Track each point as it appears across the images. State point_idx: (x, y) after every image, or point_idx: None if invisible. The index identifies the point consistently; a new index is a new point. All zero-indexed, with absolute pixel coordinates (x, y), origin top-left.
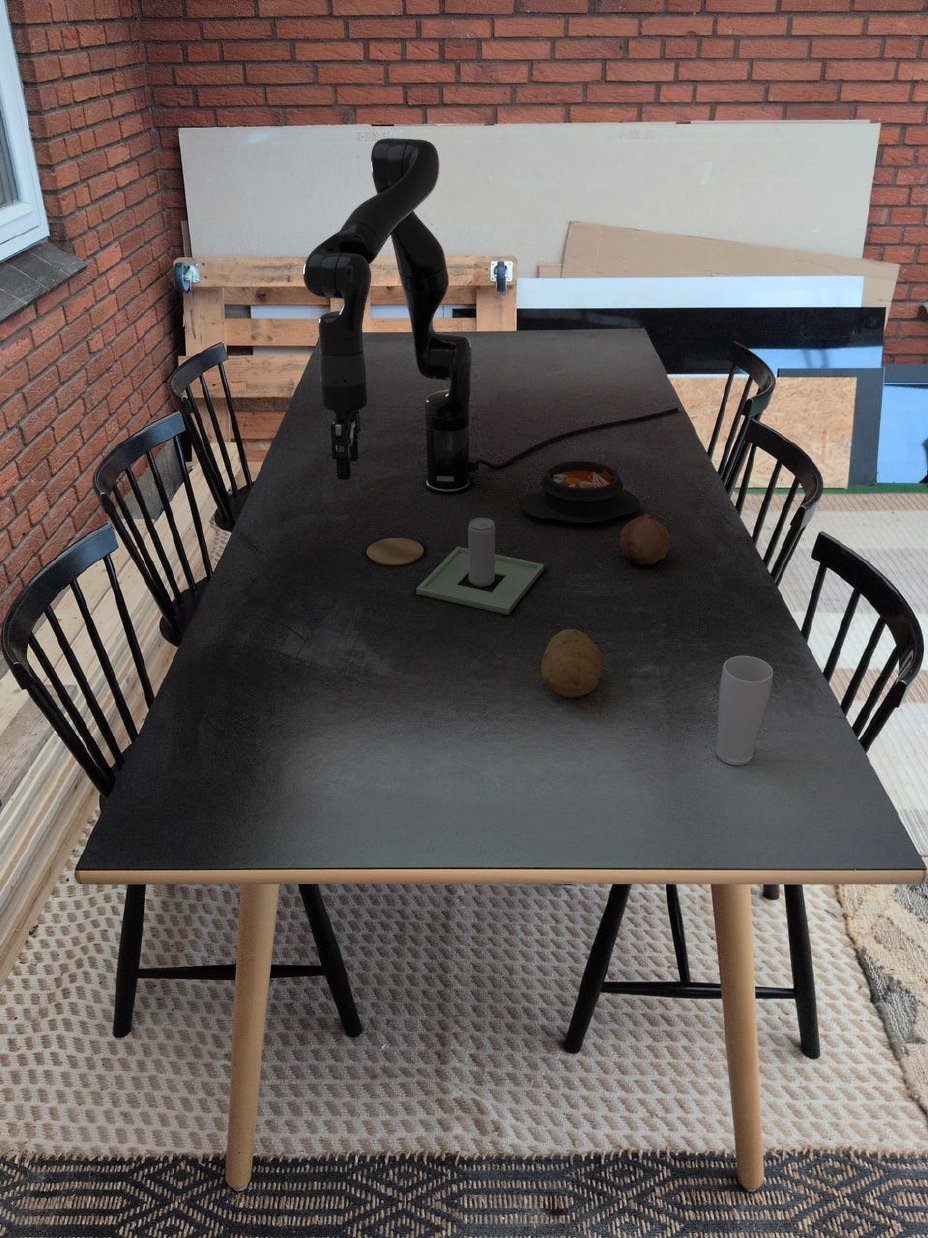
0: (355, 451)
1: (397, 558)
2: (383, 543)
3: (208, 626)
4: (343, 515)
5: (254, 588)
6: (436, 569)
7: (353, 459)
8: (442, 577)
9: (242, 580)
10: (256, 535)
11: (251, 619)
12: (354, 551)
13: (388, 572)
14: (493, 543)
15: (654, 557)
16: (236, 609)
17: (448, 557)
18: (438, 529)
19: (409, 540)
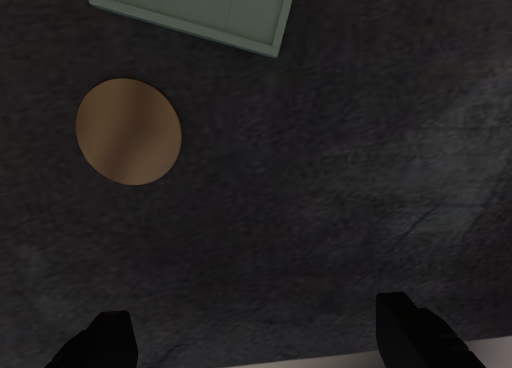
0: (97, 360)
1: (158, 122)
2: (108, 161)
3: None
4: (21, 256)
5: (293, 315)
6: (197, 30)
7: (127, 331)
8: (212, 16)
9: (272, 336)
10: None
11: None
12: (145, 205)
13: (207, 128)
14: None
15: None
16: (354, 319)
17: (141, 13)
18: (13, 68)
19: (82, 115)
